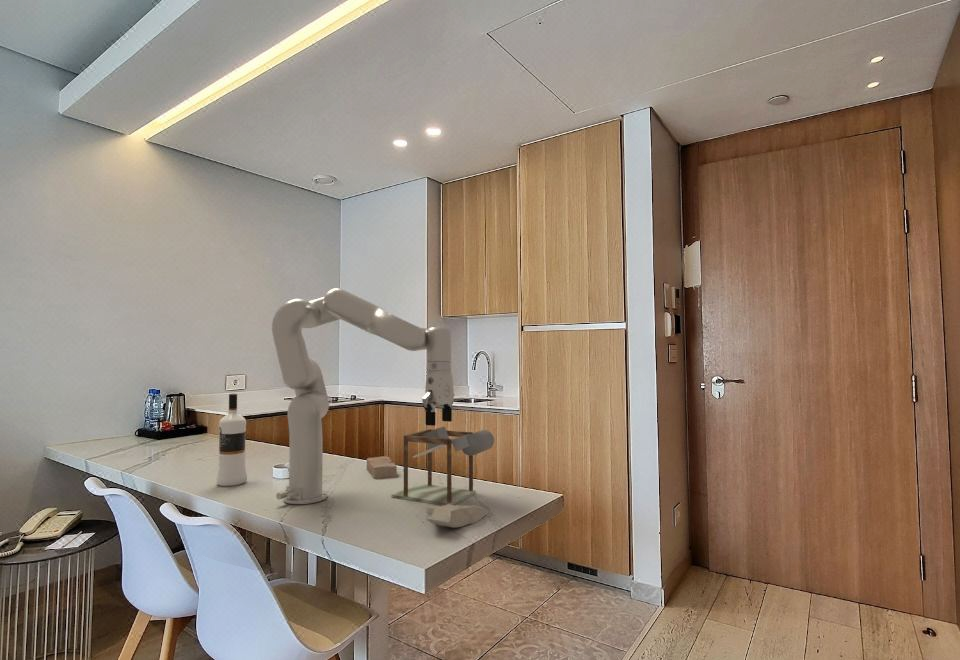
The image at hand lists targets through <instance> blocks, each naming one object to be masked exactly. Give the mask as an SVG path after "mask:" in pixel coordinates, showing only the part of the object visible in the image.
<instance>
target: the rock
mask: <svg viewBox="0 0 960 660" xmlns="http://www.w3.org/2000/svg"><path fill="white" fill-rule="evenodd" d="M426 509H427V514H428V515H429V516H427V518H426V521H427V522H429V523H432V524H434V525H436V526H437V525H438V526H439V527H447V528H460V527H461V528H462V527H464V526H467V525H471V524H472V523H473V524H475V522H476V523H477V522H479V521H480V520H482V519H483V518H485V516H486V515H488V513H489V511H488V509H486V508H484V507H481V506H479V505H458V504H455V505H451V504H447V505H438V506H435V505H434V506H427V508H426Z"/></svg>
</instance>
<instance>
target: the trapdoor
mask: <svg viewBox="0 0 960 660" xmlns="http://www.w3.org/2000/svg"><path fill="white" fill-rule="evenodd" d="M494 438H495V437H494V435H493V434H492V432H491V431H489V430H488V429H482V430H481V429H480V430H478V431H476V432H473V433H472V434H467V435H464V436H461V437H454V438H450V439H451V445H452V447H453V448H454V451H455V453H456V452H459V451H462V452H463V453H464V454H465V455H466V456H468V457H469V456H473V457H474V456H475V455H478V454H480V453H483V452H486V451H487V450H490V449H492V447H493V446H494V443H495V439H494ZM443 448H447V445H442V444H441V445H439V446H436V447H434V448H431V449H429V450H428V449H426V450H424V451H421V452H420V453H417V454H415V455H413V456H412V459H416V458H418V457H421V456H424V455H428V453H430V452H432V453H434V452H436V451H438V450H441V449H443Z"/></svg>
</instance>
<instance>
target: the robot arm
mask: <svg viewBox="0 0 960 660" xmlns="http://www.w3.org/2000/svg"><path fill="white" fill-rule="evenodd" d="M339 320H341V321H344V322H346V323H348V324H350V325H352V326H354V327H356V328H359V329H360V330H363V331H364V332H366V333H369V334H371V335H374V336H376V337H380V338H381V339H384V340H386V341H388V342H390V343H393V344H394V345H396V346H399V347H400V348H403V349H405V350H406V351H410V352H417V351H423V350H424V351H425V350H426V375H425V376H426V379H425V389H424V390H425V391H424V393H425V394H424V396H422V398H421V401H422V405H423V406H422V407H423V408H424V410H423V411H424V413H425V425H426V426H431V427H432V426H436V420H437V419H436V417H437V416H436V411H435V410H436V408H437V406H442V408H441V421H442V422H453V413H452V412H453V410H452V409H453V403H454V400H455V393H454V390H455V389H454V380H453V372H452V331H451V329H450V328H448V327H447V326H446V327H445V326H443V327H442V326H432V327H429V328H428V327H427V328H426V327H425V328H424V327H420V326H417V325H415V324H412V323H411V322H408V321H406V320H404V319H402V318H400V317H398V316H395V315H394V314H392V313H390V312H389V311H386V310H385V309H384V308H382V307H380V306H378V305H376V304H374V303H371V301H367V300H366V299H364V298H361V297H359V296H357V295H355V294H353V293H351V292H349V291H346V290H344V289H342V288H337V287H336V288H332V289H329V290H328V291H327V292H326V293H325V295H324V296H323V297H319V298H316V299H312V300H309V301H308V300H305V299H303V298H294V299H291V300H288V301H286V302H285V303H283V304H282V305H281V306H280V307H279V308H278V309H277V311H276V312H275V314H274V316H273V317H272V321H271V322H272V323H271V331H272V332H271V333H272V338H273V342H274V347H275V350H276V354H277V359H278V364H279V367H280V371H281V376H282V381H283V383H284V384H285V386H286V387H288V388H290V389H291V390H294V393H295V397H294V398H293V399H291V401H290V403H289V405H288V408H287V422H288V437H289V438H288V439H289V441H288V442H289V449H288V450H289V454H288V455H289V456H288V457H289V458H288V459H289V460H288V461H289V463H288V464H289V465H288V466H289V469H288V471H289V473H288V475H289V476H288V477H289V479H288V485H286V489H285V490H284V491H280V492H277V493H276V495H275V497H276V499H277V500H278V501H280V500H282V499H283V502H284V503H286V504H291V505H308V504H315V503H319V502H322V501H324V500H326V499H327V498H328V491H325V490H323V456H324V455H323V454H324V453H323V449H324V448H323V447H324V446H323V443H324V442H323V439H324V438H323V425H322V424H323V423H322V418H324V417H325V416H326V415H327V413H328V411H329V407H330V401H329V398H328V397H329V396H328V393H327V389H326V386H325V385H326V384H325V380H324V378H323V377H324V376H323V374H322V370H321V368H320V366H319V364H318V363H317V362H316V360H314V359H312V358H309V354H308V350H307V346H306V343H305V339H304V336H303V333H302V330H303V329H311V328H315V327H319V326H323V325H325V324H326V325H327V324H329V323H333V322H337V321H339Z"/></svg>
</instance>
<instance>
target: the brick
mask: <svg viewBox="0 0 960 660" xmlns="http://www.w3.org/2000/svg"><path fill="white" fill-rule="evenodd" d="M397 468H398V467H397V465H396V463H394V462H393V461H392V459H391V458H390V457H389V456H382V455H381V456H375V457H368V458H367V459H366V471H367V472H368V473H369V474H370V475H371V476H372V478H373V479H375V480H378V479H391V478H397V474H398V472H397Z"/></svg>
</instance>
